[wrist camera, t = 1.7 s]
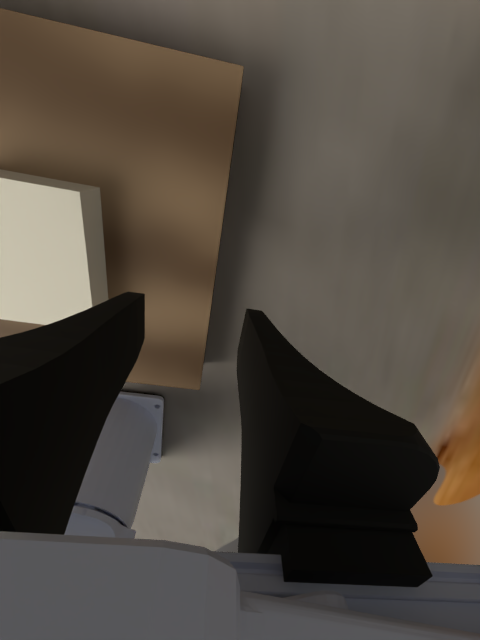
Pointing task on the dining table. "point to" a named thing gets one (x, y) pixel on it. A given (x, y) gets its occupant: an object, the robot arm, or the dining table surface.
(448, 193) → the dining table surface
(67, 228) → the tile
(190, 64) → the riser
